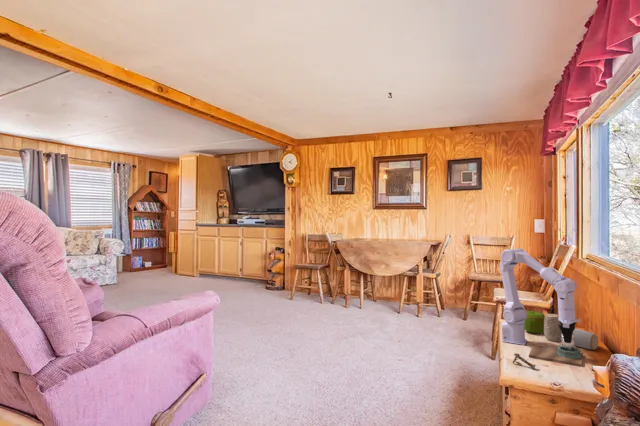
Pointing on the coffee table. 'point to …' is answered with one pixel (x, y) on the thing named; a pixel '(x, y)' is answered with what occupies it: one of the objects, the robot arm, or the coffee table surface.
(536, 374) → the coffee table surface
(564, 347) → the clear glass jar
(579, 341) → the grey cylinder
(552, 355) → the board
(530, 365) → the wooden post with brackets
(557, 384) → the coffee table surface
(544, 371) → the coffee table surface
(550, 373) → the coffee table surface
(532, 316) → the apple
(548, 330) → the carving
